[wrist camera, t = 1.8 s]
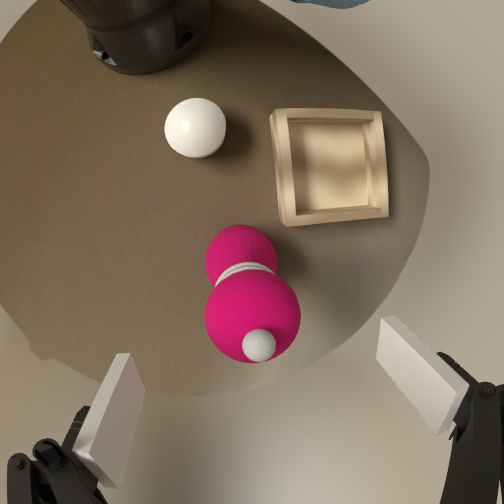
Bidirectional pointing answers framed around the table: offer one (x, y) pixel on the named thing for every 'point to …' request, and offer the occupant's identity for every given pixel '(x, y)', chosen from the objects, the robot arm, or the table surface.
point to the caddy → (329, 165)
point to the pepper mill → (248, 297)
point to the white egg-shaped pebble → (195, 128)
